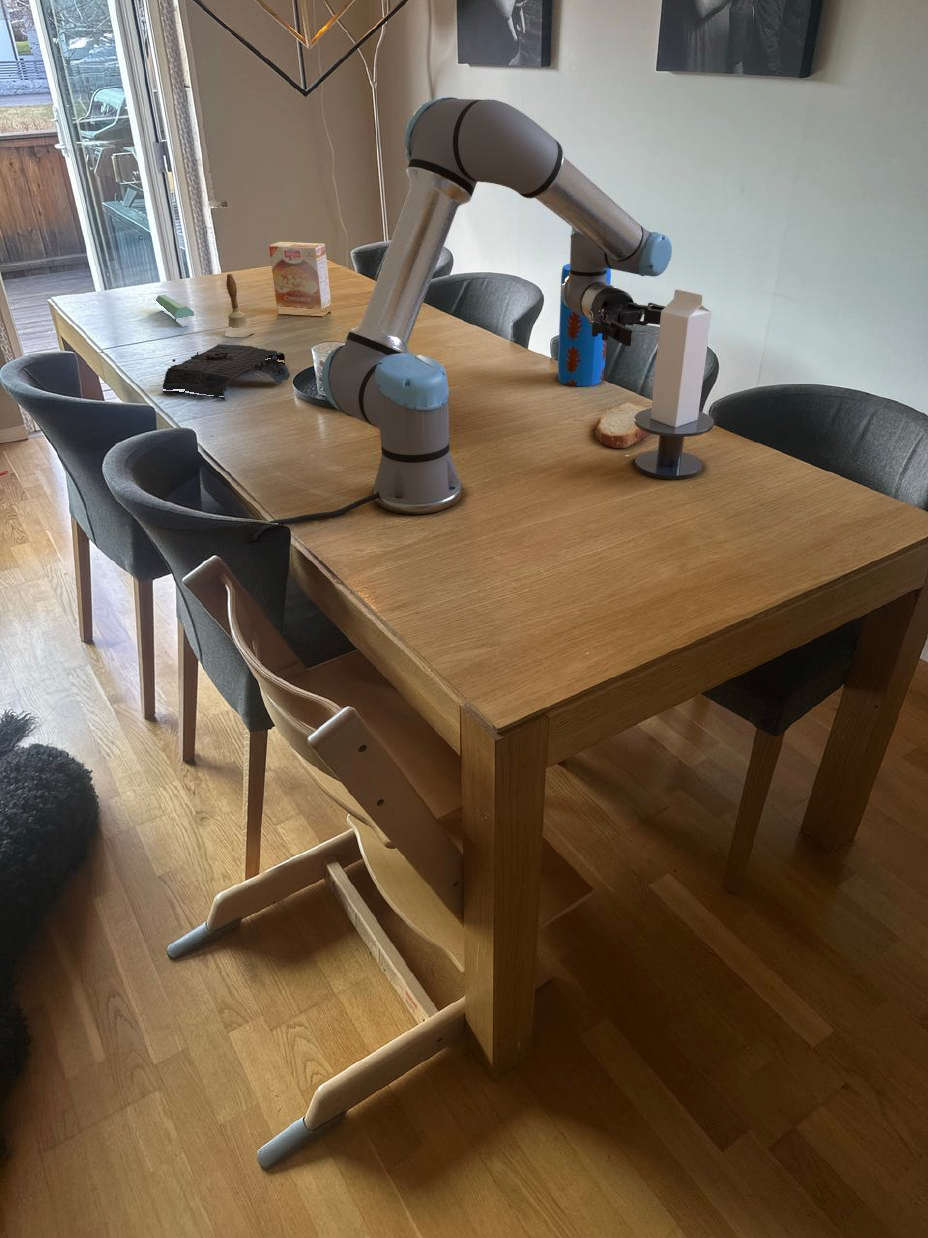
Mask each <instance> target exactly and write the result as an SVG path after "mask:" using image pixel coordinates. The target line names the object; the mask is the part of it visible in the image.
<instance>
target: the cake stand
mask: <svg viewBox="0 0 928 1238" xmlns="http://www.w3.org/2000/svg"><path fill="white" fill-rule="evenodd" d="M648 408H649V409H645V410H642V411H640V412H638V413H637V414H636V415H635V417H634V423H635V425H636V426H637V427H638V428H640V429H641V430H643V431H646V432H648V433H650V434H651V435H657V436H658V445H657V449H655V450H649V451H646V452H643V453H641V454H639V455H638V456H637V457H636V458H635V464H634V465H635V468H636V469H637V470H638V471H639V472H640V473H642V474H643V475H645V476H649V477H652V478H655V479H661V480H673V481H675V480H684V479H685V480H687V479H689V478H694V477H695V476H697V475H698V474H700V473H701V472H702V469H703V468H702V467H703V463H702V461H701V459H699V458H698V457H696V456H695V455H693V454H691V453H688V452H683V449H684V441H685V438H688V437H690V438H691V437H696V436H700V435H704V434H707V433H708V432H710V431H711V430H712V429H713V428H714V423H715V422H714V419H713V418H712V417H711V416H710V415H709V414H708V413H705V412H703V411H700V410H699V413H698V420H696V421H693V422H690V423H687V424H684V425H681V426H678V427H672V426H669V425H667V424H664V423H661V422H659V421H656V420H653V419H651V407H648Z"/></svg>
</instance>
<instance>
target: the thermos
mask: <svg viewBox="0 0 928 1238" xmlns="http://www.w3.org/2000/svg"><path fill="white" fill-rule="evenodd" d="M569 272H570V263H567V264H564V265H563V266H562V268H561V274H560V278H561V279H560V288H561V287H562V285H563V283H564V280H565V279H566V278H567V277H568V276H569ZM611 280H612V269H609V268H607V275H606V283H607V284H609V285H611V282H612V281H611ZM559 297H560V301H559V303H560V305H559V323H558V324H559V325H558V326H559V327H558V352H557V353H558V354H557V378H558V379H557V380H558V382H560V383H561V384H564V385H567V386H572V387H592V386H596V385H599V384H601V383H602V382H603V381H604V376H605V368H606V367H605V366H606V353H607V341H608V340H606V341H605V340H602V334H598V336H596V337H593V336H592V325H590V324H589V319H588V318H586V317H584V316H582V315H579V314H577V313H574V312H573V311H571V310H570V309H569V308H568V307H567V306H566V305H565V304H564V303H563V301H562V299H561V296H559Z"/></svg>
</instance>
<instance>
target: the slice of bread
mask: <svg viewBox="0 0 928 1238" xmlns="http://www.w3.org/2000/svg"><path fill="white" fill-rule="evenodd" d="M649 408H650V407H646V406H643V405H640V404H637V403H634V402H631V401H630V402H629V401H625V402H622V403H620V404H618V405H615V406H613V407H611V408H609V409H608V410H606V411H605V412H604V413H603V414H602V415H601V416H599V423H598V424H597V426H596V430H595V436H596V438H597V440H599V442H600V443H602V444H604V445H606V446H608V447H609V448H612V449H613V448H614V449H615V448H616V449H627V448H630V446H634V445H635V444H638V443H639V442H640V441H643V439H644V438H646V437H647V436H649V435H650V434H651V433H648V432H646V431H643V430H641V429H640V428H638V427H637V426H636V425H635V423H634V417H635V415H636V414H637V413H638V412H640V411H642V410H645V409H649Z"/></svg>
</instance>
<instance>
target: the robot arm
mask: <svg viewBox="0 0 928 1238" xmlns="http://www.w3.org/2000/svg"><path fill="white" fill-rule="evenodd" d="M406 127H407V128H406V129H405V135H404V146H405V148H406V151H405V155H406V158H407V160H408V165H407V167H406V170H405V174H406V176H407V178H408V180H409V183H410V187H409V189H408V192H407V195H406V197H405V201H404V203H403V206H402V209H401V211H400V214H399V218H398V220H397V223H396V227H395V228H394V231H393V234H392V237H391V240H390V243H389V245H388V248H387V251H386V254H385V257H384V259H383V262H382V265H381V268H380V270H379V273H378V276H377V279H376V282H375V284H374V287H373V290H372V292H371V295H370V298H369V302H368V303H367V307H366V310H365V312H364V315H363V318H362V321H361V323H360V324H359V325H357V326H356V327H353V328H350V329H349V330H348V333H347V337H346V339H345V342H344V343H343V344H341V345H338V346H337V347H336V348H335V349H332V350H331V351H330V352H329V353H328V354H327V356H326V358H325V360H324V362H323V366H322V369H321V384H322V385H321V386H322V389H323V392H324V394H325V396H326V399H327V401H329V403H330V404H331V405H332V406H333V407H335V409H337V410H339V411H340V412H341V413H343V414H345V416H347V417H351V418H353V419H357V420H359V421H361V422H364V423H366V424H368V425H369V426H372V427H374V428H377V429H378V430H379V437H380V438H379V439H380V448H381V449H380V450H381V457H380V461H379V466H378V469H377V473H376V477H375V481H374V485H373V493H372V494H370V495H368V496H365V497H363V498H361V499H358V500H355V501H354V502H352V503H350V504H348V505H346V506H344V507H341V508H339V509H336V510H332V511H323V512H316V513H315V512H314V513H308V514H302V515H297V516H293V517H287V518H278V519H274V520H270V521H268V522H269V523H278V524H281V525H280V526H283V525H290V524H296V523H301V522H305V521H313V520H319V519H328V518H335V517H338V516H341V515H344V514H346V513H349V512H351V511H352V510H355V509H356V508H360V507H361V506H364V505H366V504H368V503H371V502H372V501H375V503H376V504H377V505H378V506H379V507H381V508H383V509H385V510H387V511H390V512H393V513H398V514H405V515H424V514H432V513H433V514H434V513H437V512H440V511H444V510H446V509H449V508H451V507H453V506H454V505H456V504H457V503H458V502H459V501H460V499H461V497H462V482H461V479H460V476H459V474H458V470H457V468H456V465H455V463H454V460H453V458H452V455H451V445H450V444H451V443H450V388H449V382H448V374H447V371H446V369H445V368H444V366H443V365H442V364H441V363H440V362H439V361H437V360H436V359H434V358H432V357H429V356H426V355H424V354H414V353H411V350H410V348H409V342H410V339H411V335H412V333H413V330H414V327H415V324H416V322H417V319H418V316H419V314H420V311H421V308H422V305H423V303H424V301H425V298H426V295H427V293H428V290H429V288H430V285H431V281H432V278H433V276H434V274H435V271H436V268H437V266H438V263H439V261H440V257H441V255H442V252H443V249H444V247H445V244H446V241H447V239H448V238H447V237H448V235H449V233H450V230H451V229H452V228H451V227H452V224H453V222H454V219H455V216H456V214H457V211H458V209H459V207H460V206H463V205H465V204H469V202H471V200H472V197H473V194H474V192H475V189H476V187H477V184H478V183H487V184H494V185H499V186H502V187H505V188H509V189H511V190H513V191H515V192H516V193H517V194H518V195H520V196H521V197H523V198H525V199H528V200H529V199H536V200H537V201H538V202H539V203H541V204H542V205H544V206H545V207H546V208H547V209H549V211H551V212H552V213H553V214H555V215H556V216H557V217H558V218H560V219H561V220H562V221H564V222H565V223H566V224H568V225H569V226H570V227H571V232H570V237H569V238H570V247H569V249H570V252H569V254H570V255H569V259H570V260H569V264H570V272H569V276H568V277H567V278H566V279H565V280H564V283H563V285H562V287H561V286H560V297H561V299H562V301H563V303H564V304H565V305H566V306H567V307H568V308H569V309H570V310H571V311H573V312H574V313H577V314H579V315H582V316H584V317H586V318H588V319H589V324H590V325H592V336H593V337H596V336H598V334H602V340H605V341H606V340H607V341H609V338H610V339H613V340H614V341H617V343H620V344H621V345H624V346H625V347H631V346H632V336H633V335H632V334H633V329H630V328H629V327H627V326H634V325H635V326H645V327H646V326H648V325H657V326H660V318H661V311H662V310H663V309H664V308H665V307H666V306H667V305H661V304H657V303H654V302H648V303H647V305H645V304H638V303H637V302H635V301H634V299H633V297H632V296H631V295H630V293H628V292H626V291H625V290H623V289H620V288H618V287H616V286H614V285H613V284H610V285H609V284H607V283H606V275H607V268H609V269H611V270H615V271H618V272H619V271H620V272H624V273H629V274H633V275H639V276H640V277H658V276H661V275H662V274H663V273H664V272H665V271H666V270H667V268H668V266H669V263H670V261H671V260H672V255H673V246H672V242H671V240H670V238H669V237H668V236H667V235H665V234H663V233H659V232H657V231H649V230H647V229H646V228H645V227H644V226H642V225H641V224H640V223H639V222H638V221H636V220H635V218H634V217H632V216H631V215H630V214H629V213H628V212H627V211H626V210H625V209H623V208H622V207H621V206H620V205H619V204H618V203H617V202H615V201H614V200H613V199H612V198H611V197H610V196H609V195H608V194H606V193H605V192H604V191H603V190H602V189H601V188H600V187H599V186H598V185H597V184H595V183H594V182H593V181H592V180H591V179H590V178H589V177H587V176H586V175H585V173H583V172H582V171H580V170H579V168H577V166H575V165H574V164H573V163H572V162H571V161H569V160H568V159H567V158H566V157H565V156H564V150H563V146H562V145H561V143H560V142H559V141H558V140H557V139H555V138H554V137H553V136H552V135H551V134H550V133H549V132H548V131H546V129H544V128H543V127H542V126H541V125H539V124H538V123H537V122H536V121H535V120H534V119H532V118H530V117H529V116H528V115H526V114H525V113H524V112H523V111H520V110H519V109H518V108H516V107H514V106H512V105H511V104H508V103H506V102H503V101H501V100H497V99H489V98H488V99H487V98H486V99H475V98H474V99H471V98H457V97H453V96H447V97H441V98H435V99H430V100H428V101H427V102H425V103H423V104H421V106H419V107H418V108H417V109H416V110H415V112H414V113H413V114H412V116H411V117H410V119H409V122H408V124H407V126H406ZM642 318H643V320H642ZM607 341H606V342H607ZM259 538H260V537H255V538H252V537H250V540H251V541H255V540H258V539H259Z"/></svg>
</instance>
